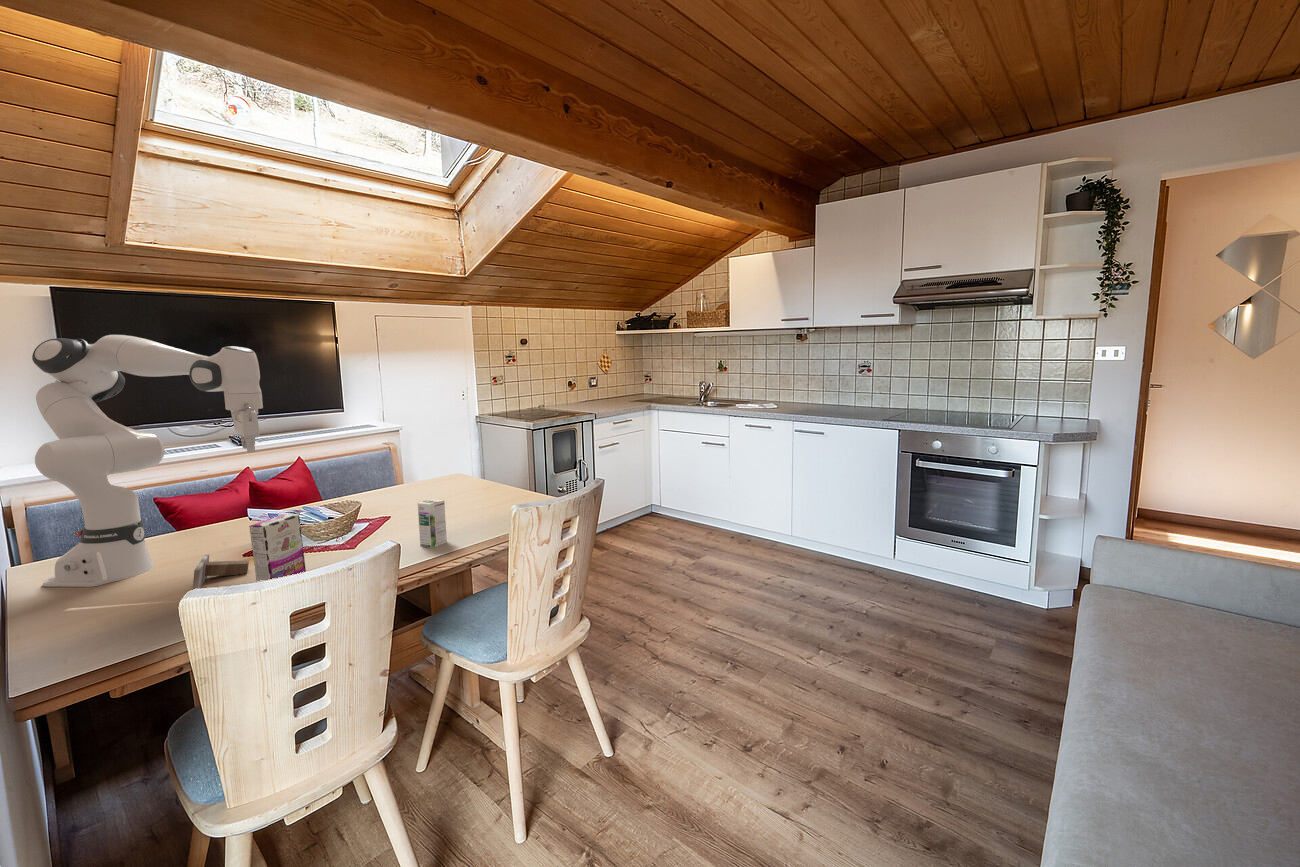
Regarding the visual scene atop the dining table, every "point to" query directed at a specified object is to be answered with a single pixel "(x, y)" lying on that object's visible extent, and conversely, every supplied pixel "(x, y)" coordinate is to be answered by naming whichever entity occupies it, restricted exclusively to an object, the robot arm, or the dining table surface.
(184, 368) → the robot arm
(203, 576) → the upright block on plate
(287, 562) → the candy bar box
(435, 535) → the syrup box
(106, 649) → the dining table surface
